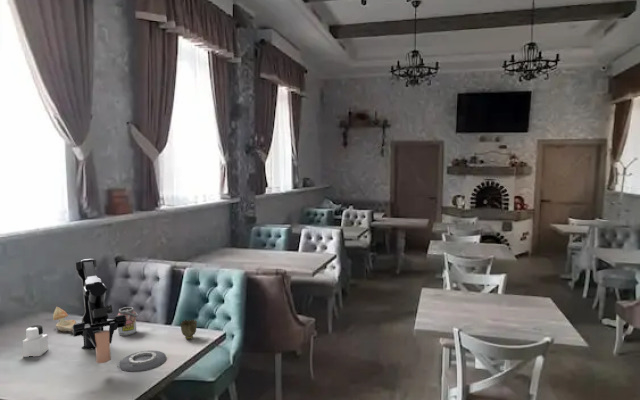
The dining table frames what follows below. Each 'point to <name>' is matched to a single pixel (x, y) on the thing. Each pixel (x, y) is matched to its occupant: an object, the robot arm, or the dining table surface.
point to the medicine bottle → (35, 342)
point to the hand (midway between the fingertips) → (103, 344)
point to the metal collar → (132, 362)
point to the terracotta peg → (102, 346)
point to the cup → (188, 328)
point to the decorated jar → (128, 321)
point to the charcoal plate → (134, 368)
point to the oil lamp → (63, 320)
